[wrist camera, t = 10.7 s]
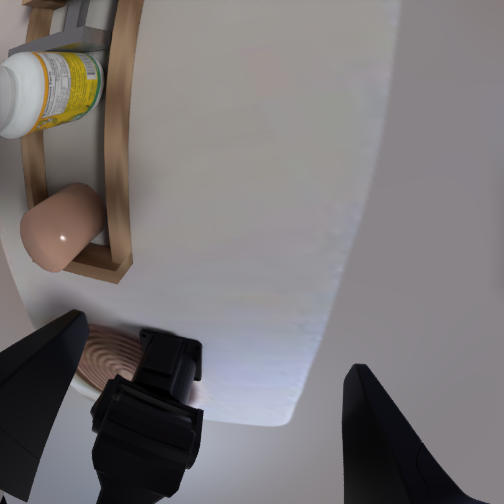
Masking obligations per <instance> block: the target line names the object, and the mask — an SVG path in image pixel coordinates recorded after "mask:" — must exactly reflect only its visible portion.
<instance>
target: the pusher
mask: <svg viewBox="0 0 504 504" xmlns="http://www.w3.org/2000/svg"><path fill="white" fill-rule="evenodd" d="M89 2H90V0H70V2H69V7H68V11H67V16H66V22H65V27H64V31H63V32H59V33H56V34H52V35H49V36H46V37H43V38H40V39H37V40H34V41H31V42H28V43H26V44H23V45H20V46H18V47H15V48H13V49H10V50H9V53H8V58H9V57H10V56H12V55H14V54H16V53H20V52H78V53H84V52H90V51H96V50H103V49H110V48H111V41H112V35H113V32H110V31H105V30H101V29H96V28H91V27H86V26H85V23H86V17H87V12H88V7H89Z"/></svg>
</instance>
